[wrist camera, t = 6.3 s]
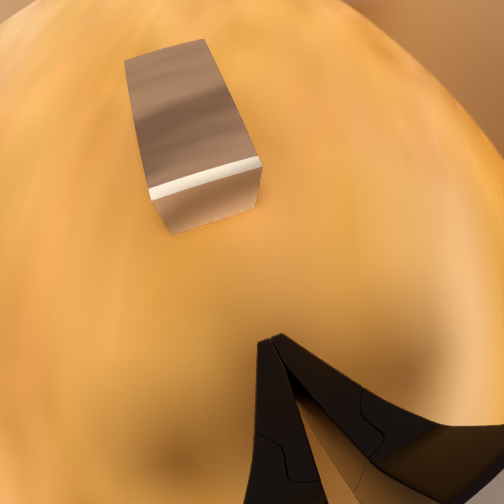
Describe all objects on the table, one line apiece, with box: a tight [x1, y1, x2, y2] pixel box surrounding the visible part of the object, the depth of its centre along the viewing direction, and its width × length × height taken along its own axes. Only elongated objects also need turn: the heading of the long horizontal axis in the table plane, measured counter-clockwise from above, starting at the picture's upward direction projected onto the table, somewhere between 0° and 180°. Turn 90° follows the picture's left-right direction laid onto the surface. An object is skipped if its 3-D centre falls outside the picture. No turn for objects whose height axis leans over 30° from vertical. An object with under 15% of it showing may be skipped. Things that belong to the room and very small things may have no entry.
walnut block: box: [124, 39, 262, 235], centre depth 17 cm, size 5×5×10 cm
